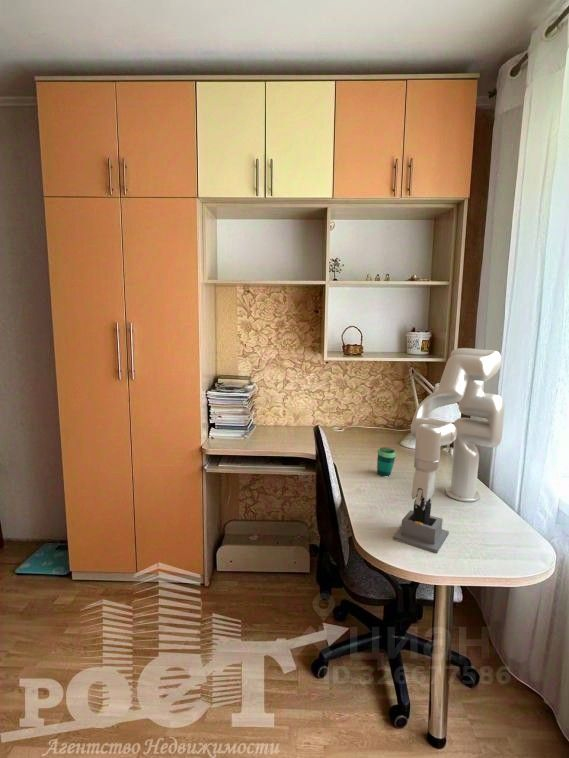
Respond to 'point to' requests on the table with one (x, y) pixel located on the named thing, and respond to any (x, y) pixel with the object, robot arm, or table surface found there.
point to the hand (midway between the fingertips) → (422, 516)
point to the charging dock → (422, 533)
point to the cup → (385, 461)
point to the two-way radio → (427, 508)
